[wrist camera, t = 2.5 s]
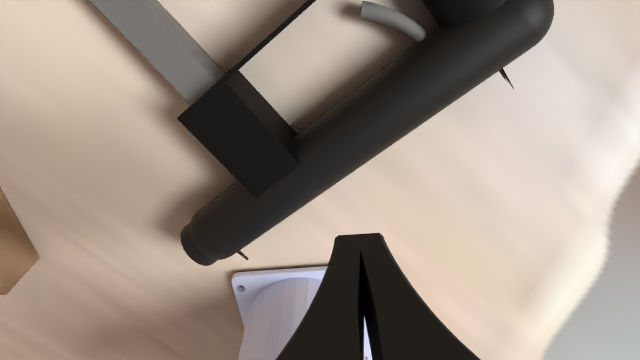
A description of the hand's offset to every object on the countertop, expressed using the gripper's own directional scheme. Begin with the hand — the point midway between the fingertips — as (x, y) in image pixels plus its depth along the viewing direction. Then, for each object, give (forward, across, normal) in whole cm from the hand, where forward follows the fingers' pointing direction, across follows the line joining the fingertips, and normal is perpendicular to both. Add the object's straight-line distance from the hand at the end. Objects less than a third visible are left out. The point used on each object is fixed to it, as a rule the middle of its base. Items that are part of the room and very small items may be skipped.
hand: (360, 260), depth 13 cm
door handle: (+10, +3, -5) cm, 12 cm away
